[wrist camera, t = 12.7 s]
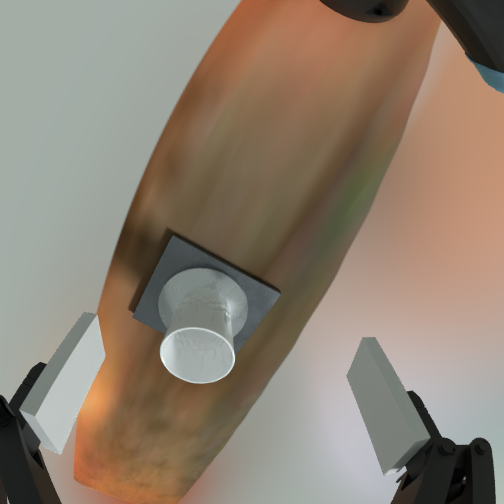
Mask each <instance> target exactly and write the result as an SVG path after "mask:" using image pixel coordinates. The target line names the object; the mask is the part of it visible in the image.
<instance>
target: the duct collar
mask: <svg viewBox="0 0 504 504" xmlns="http://www.w3.org/2000/svg"><path fill="white" fill-rule="evenodd" d="M196 287H208V288H211V289H213V290H216V291H218V292H219V293H220V294H221V295H222V296H223V297H224V298H225V299H226V300H227V303H228V307H229V311H230V318H231V325H232V332H233V344H234V353H235V355H236V354H237V352H238V351H239V350H240V348H241V347H242V346H243V344H244V343H245V342H246V341H247V339H248V338H249V337H250V335H251V334H252V333H253V331H254V330H255V329H256V327H257V326H258V325H259V323H260V322H261V321H262V319H263V318H264V317H265V315H266V314H267V313H268V311H269V310H270V309H271V307H272V306H273V304H274V303H275V302H276V300H277V299H278V298H279V296H280V295H281V292H280V290H278V289H276V288H274V287H272V286H270V285H269V284H267V283H265V282H263V281H261V280H259V279H257V278H255V277H254V276H252V275H250V274H248V273H246V272H244V271H242V270H241V269H239V268H237V267H235V266H233V265H231V264H229V263H228V262H226V261H224V260H222V259H220V258H218V257H217V256H215V255H213V254H211V253H209V252H207V251H206V250H204V249H202V248H200V247H198V246H197V245H195V244H193V243H191V242H189V241H188V240H186V239H184V238H182V237H180V236H179V235H177V234H175V233H174V234H173V236H172V238H171V240H170V241H169V243H168V245H167V247H166V249H165V251H164V253H163V255H162V257H161V259H160V261H159V263H158V265H157V267H156V269H155V271H154V273H153V275H152V277H151V279H150V281H149V283H148V285H147V287H146V289H145V291H144V293H143V295H142V297H141V299H140V302H139V304H138V306H137V308H136V310H135V312H134V314H133V318H134V319H136V320H138V321H140V322H142V323H144V324H146V325H148V326H150V327H152V328H154V329H156V330H158V331H160V332H162V333H164V334H165V333H166V331H167V328H168V325H169V323H170V320H171V318H172V316H173V314H174V311H175V309H176V308H177V306H178V303H179V300H180V299H181V298H182V296H183V295H184V294H185V293H186V292H187V291H189V290H192V289H194V288H196Z"/></svg>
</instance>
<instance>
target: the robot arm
mask: <svg viewBox="0 0 504 504" xmlns="http://www.w3.org/2000/svg"><path fill="white" fill-rule="evenodd" d="M321 1H322V2H323V3H324V4H326V5H327V6H328V7H330V8H331V9H333V10H334V11H336V12H338V13H340V14H342V15H344V16H346V17H349V18H351V19H354V20H358V21H362V22H368V23H381V22H385V21H388V20H390V19H392V18H394V17H395V16H397V15H398V14H400V13H401V12H402V11H403V10H404V9H405V7H406V5H407V3H408V1H409V0H321ZM426 1H427V2H428V3H429V5H430V6H431V7H432V8H433V9H434V11H435V12H436V13H437V14H438V15H439V17H440V18H441V19H442V20H443V22H444V23H445V24H446V26H447V27H448V28H449V30H450V31H451V32H452V34H453V35H454V37H455V38H456V39H457V41H458V42H459V44H460V45H461V47H462V48H463V50H464V51H465V55H466V56H467V58H468V59H469V60H470V61H471V62H472V63H473V64H474V65H475V67H476V68H477V70H478V71H479V73H480V74H481V76H482V78H483V79H484V81H485V82H486V83H487V84H488V85H489V86H491V87H493V88H494V89H496V90H497V91H499V92H501V93H504V0H426ZM105 357H106V356H105V351H104V347H103V342H102V337H101V332H100V327H99V322H98V316H97V314H92V313H87V312H84V313H83V314H82V315H81V317H80V318H79V319H78V321H77V322H76V324H75V325H74V327H73V328H72V329H71V331H70V332H69V333H68V335H67V336H66V338H65V339H64V340H63V342H62V343H61V345H60V346H59V348H58V349H57V350H56V352H55V354H54V355H53V356H52V358H51V359H50V361H49V362H48V364H45V363H42V362H39V363H38V364H37V365H35V366H34V367H33V368H32V369H31V370H30V372H29V373H28V375H27V377H26V378H25V379H24V381H23V382H22V384H21V385H20V387H19V388H18V390H17V391H16V393H15V395H14V396H13V398H12V399H11V401H10V403H9V404H8V402H7V401H6V399H5V398H4V397H3V396H2V395H0V504H7V497H8V500H9V503H10V504H62V503H61V501H60V499H59V497H58V495H57V493H56V490H55V488H54V486H53V483H52V481H51V478H50V476H49V473H48V471H47V468H46V466H45V463H44V460H43V457H42V455H41V452H40V450H39V448H38V447H39V445H40V442H41V443H42V444H43V446H44V447H45V448H46V449H47V450H49V451H52V452H54V453H57V454H59V455H61V453H62V451H63V448H64V446H65V444H66V441H67V439H68V436H69V434H70V431H71V429H72V427H73V424H74V422H75V420H76V418H77V415H78V413H79V411H80V409H81V406H82V404H83V402H84V400H85V398H86V396H87V393H88V391H89V389H90V387H91V385H92V383H93V381H94V379H95V377H96V375H97V373H98V370H99V368H100V366H101V364H102V362H103V360H104V358H105ZM347 378H348V381H349V383H350V386H351V389H352V391H353V394H354V396H355V399H356V401H357V404H358V407H359V409H360V412H361V414H362V417H363V420H364V422H365V425H366V428H367V430H368V433H369V436H370V439H371V441H372V444H373V447H374V450H375V452H376V455H377V458H378V461H379V463H380V466H381V469H382V472H383V475H388V474H392V473H396V472H399V471H400V470H401V469H402V468H403V467H404V466H406V469H407V471H406V472H405V473H404V474H403V475H402V476H401V477H400V478H399V479H398V480H397V481H396V482H397V483H398V482H399V481H400V480H401V479H402V480H401V482H400V485H399V487H398V489H397V491H396V494H395V496H394V498H393V500H392V502H391V504H496V495H495V478H494V466H493V457H492V449H491V446H490V444H489V442H488V441H487V440H485V439H484V438H476V439H474V440H473V441H472V442H471V443H470V444H469V445H456V444H455V443H454V442H453V441H452V440H450V439H448V438H442V436H441V435H440V433H439V431H438V429H437V427H436V425H435V423H434V422H433V420H432V418H431V416H430V414H428V411H427V409H426V408H425V407H424V406H425V405H424V404H423V402H422V400H421V398H420V397H419V396H418V395H417V394H416V393H415V392H413V391H407V392H406V390H405V388H404V386H403V385H402V383H401V381H400V379H399V377H398V376H397V374H396V372H395V370H394V369H393V367H392V365H391V364H390V362H389V360H388V359H387V357H386V355H385V353H384V352H383V350H382V348H381V347H380V345H379V343H378V341H377V340H376V338H375V337H367V338H365V337H364V338H362V340H361V342H360V345H359V347H358V350H357V352H356V355H355V357H354V360H353V362H352V365H351V367H350V369H349V372H348V374H347ZM6 494H7V495H6Z"/></svg>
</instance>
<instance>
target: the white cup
mask: <svg viewBox="0 0 504 504" xmlns="http://www.w3.org/2000/svg"><path fill="white" fill-rule="evenodd" d="M160 357H161V360H162V362H163V364H164V366H165V367H166V368H167V369H168V370H169V371H170V372H171V373H172V374H173V375H175V376H176V377H178V378H180V379H182V380H185V381H188V382H193V383H210V382H214V381H217V380H219V379H221V378H223V377H224V376H226V375H227V374H228V373H229V372H230V371H231V369H232V367H233V365H234V362H235V353H234V344H233V332H232V325H231V318H230V311H229V307H228V303H227V300H226V299H225V298H224V297H223V296H222V295H221V294H220V293H219V292H218V291H216V290H213V289H211V288H208V287H196V288H194V289H192V290H189V291H187V292H186V293H185V294H184V295H183V296H182V298H181V299H180V300H179V303H178V306H177V308H176V309H175V311H174V314H173V316H172V318H171V320H170V323H169V325H168V328H167V331H166V333H165V336H164V339H163V341H162V344H161V347H160Z"/></svg>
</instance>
